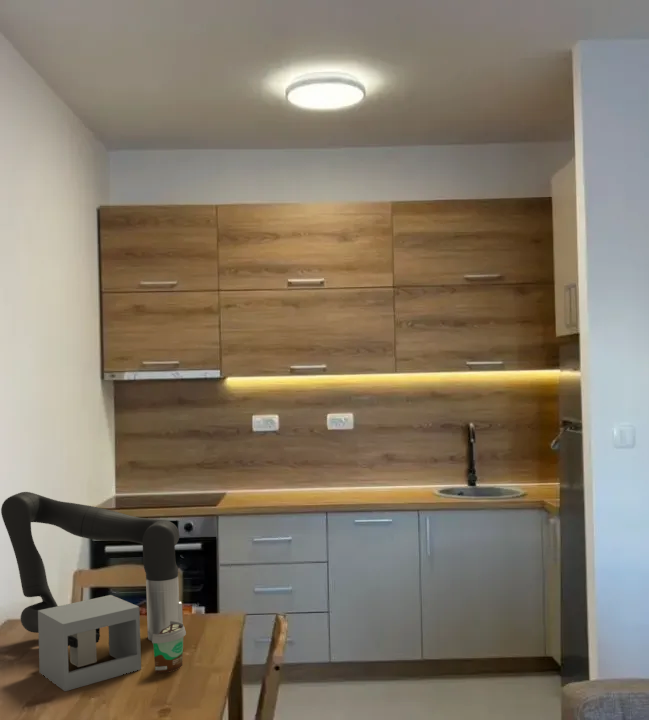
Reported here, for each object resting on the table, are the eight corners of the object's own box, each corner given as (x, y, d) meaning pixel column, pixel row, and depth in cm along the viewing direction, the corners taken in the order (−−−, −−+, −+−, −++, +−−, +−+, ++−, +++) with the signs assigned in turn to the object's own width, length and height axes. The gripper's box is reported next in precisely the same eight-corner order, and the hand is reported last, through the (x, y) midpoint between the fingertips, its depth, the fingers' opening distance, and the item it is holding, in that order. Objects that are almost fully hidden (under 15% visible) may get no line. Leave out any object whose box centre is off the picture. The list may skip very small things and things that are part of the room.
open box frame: (112, 653, 213) (110, 594, 213) (141, 669, 200) (139, 606, 200) (39, 673, 200) (37, 610, 200) (64, 691, 187) (63, 624, 187)
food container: (176, 676, 194) (174, 635, 194) (153, 675, 195) (151, 635, 196) (194, 658, 206) (192, 620, 207) (172, 658, 207) (171, 620, 208)
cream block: (88, 657, 207) (87, 619, 207) (96, 662, 203) (95, 623, 203) (70, 662, 203) (69, 623, 204) (78, 667, 200) (76, 628, 200)
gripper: (35, 619, 210) (59, 633, 197) (86, 607, 219) (112, 620, 206) (36, 647, 210) (60, 663, 197) (87, 634, 219) (113, 649, 206)
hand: (86, 641), depth 201 cm, fingers closed on cream block, 5 cm apart
